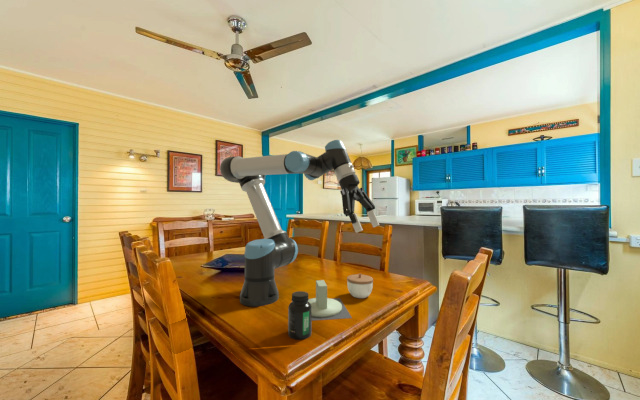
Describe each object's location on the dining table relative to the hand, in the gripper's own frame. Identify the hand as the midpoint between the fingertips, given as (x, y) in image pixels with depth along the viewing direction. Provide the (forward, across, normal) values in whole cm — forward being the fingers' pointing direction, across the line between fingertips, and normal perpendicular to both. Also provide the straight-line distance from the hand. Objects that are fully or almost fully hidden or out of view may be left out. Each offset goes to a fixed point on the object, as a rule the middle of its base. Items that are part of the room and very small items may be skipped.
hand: (368, 228), depth 96 cm
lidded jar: (+24, +6, +20) cm, 32 cm away
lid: (+20, -14, +23) cm, 34 cm away
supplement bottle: (+22, -32, +17) cm, 43 cm away
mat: (+21, -14, +23) cm, 34 cm away
